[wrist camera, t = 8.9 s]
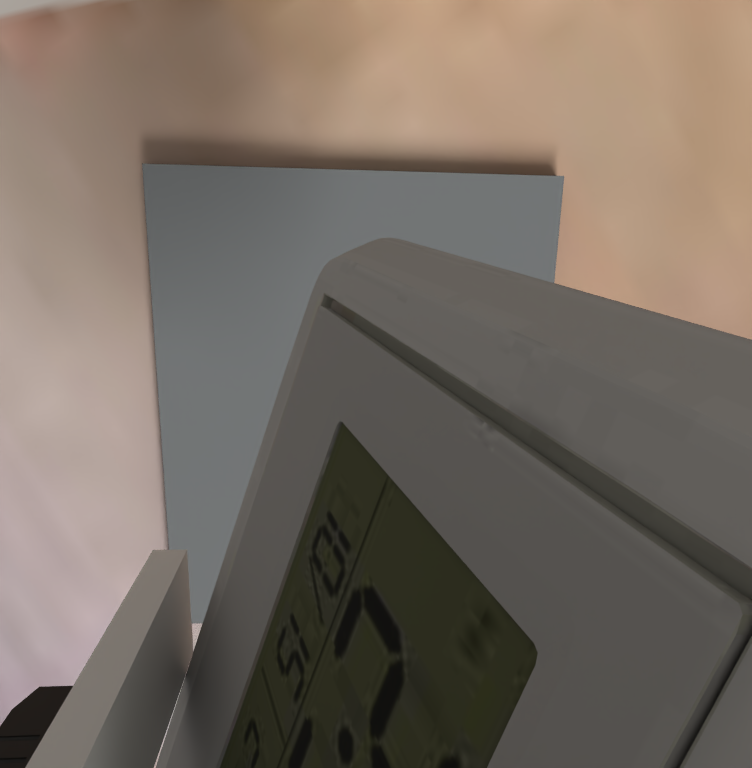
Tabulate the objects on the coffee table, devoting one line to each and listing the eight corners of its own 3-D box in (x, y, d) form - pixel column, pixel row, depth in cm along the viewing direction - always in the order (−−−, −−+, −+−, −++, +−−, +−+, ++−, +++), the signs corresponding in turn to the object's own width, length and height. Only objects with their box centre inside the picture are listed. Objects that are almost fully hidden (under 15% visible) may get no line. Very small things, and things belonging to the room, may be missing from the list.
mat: (518, 607, 32) (522, 617, 31) (178, 614, 31) (174, 623, 30) (557, 177, 27) (564, 176, 26) (148, 165, 25) (142, 163, 25)
